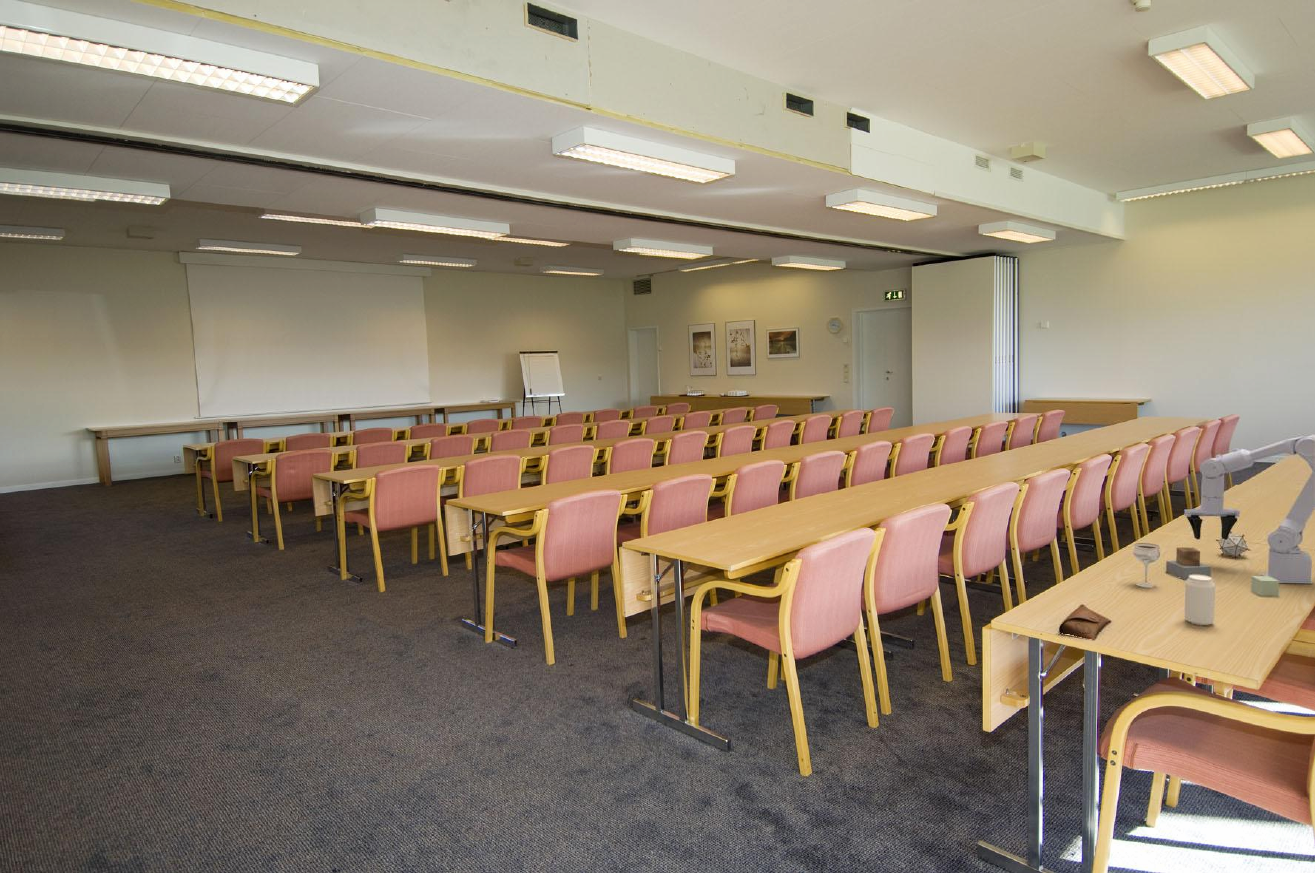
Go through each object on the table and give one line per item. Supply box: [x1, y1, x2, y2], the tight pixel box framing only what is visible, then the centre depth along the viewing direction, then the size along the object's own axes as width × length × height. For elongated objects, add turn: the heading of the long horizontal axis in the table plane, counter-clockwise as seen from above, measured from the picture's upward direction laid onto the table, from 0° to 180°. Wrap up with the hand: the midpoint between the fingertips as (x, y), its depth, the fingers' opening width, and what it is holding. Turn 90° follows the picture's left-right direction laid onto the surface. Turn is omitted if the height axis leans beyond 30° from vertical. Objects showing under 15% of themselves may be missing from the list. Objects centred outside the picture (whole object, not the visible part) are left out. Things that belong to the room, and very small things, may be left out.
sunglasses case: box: [1058, 603, 1112, 641], centre depth 195 cm, size 18×7×7 cm, turn 138°
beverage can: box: [1184, 575, 1216, 626], centre depth 194 cm, size 6×6×12 cm
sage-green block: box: [1250, 575, 1280, 597], centre depth 214 cm, size 4×4×4 cm
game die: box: [1215, 530, 1252, 560], centre depth 250 cm, size 9×8×10 cm
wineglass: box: [1132, 542, 1161, 589], centre depth 225 cm, size 7×7×12 cm
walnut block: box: [1175, 547, 1201, 566], centre depth 233 cm, size 4×4×4 cm
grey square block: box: [1165, 560, 1212, 581], centre depth 233 cm, size 8×8×4 cm
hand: (1210, 538), depth 239 cm, fingers open, 7 cm apart
